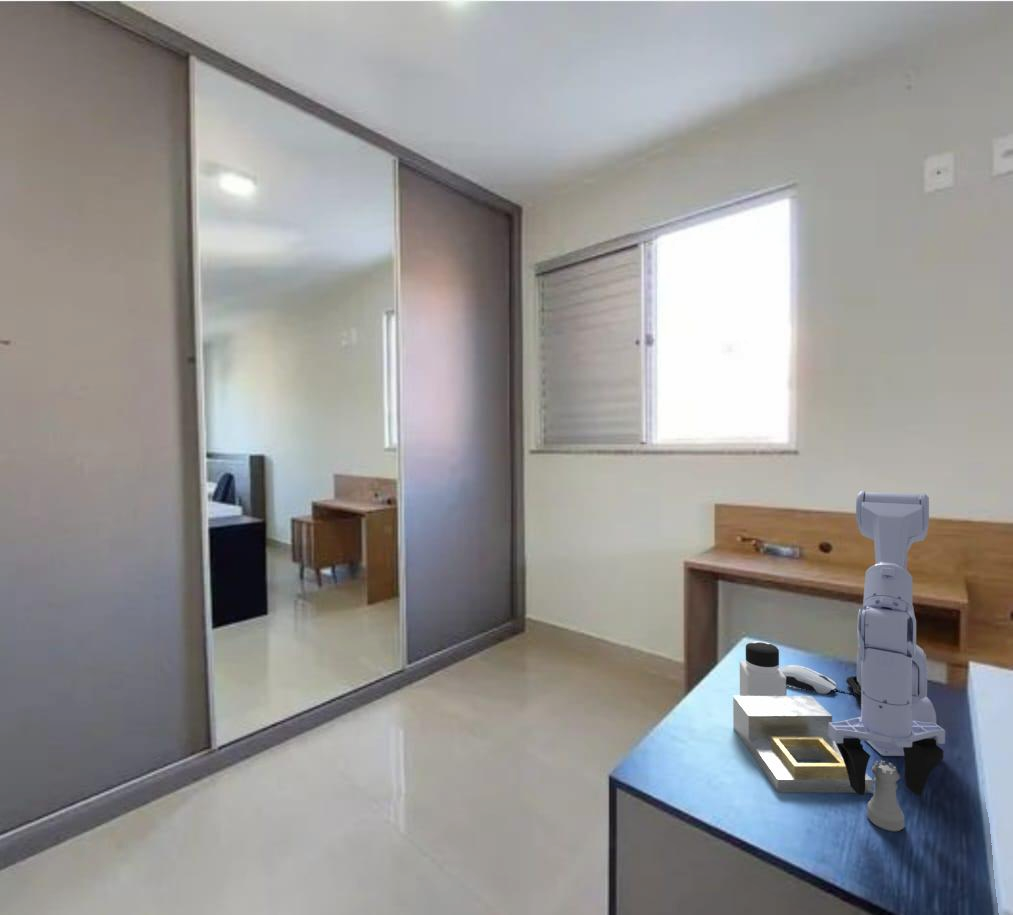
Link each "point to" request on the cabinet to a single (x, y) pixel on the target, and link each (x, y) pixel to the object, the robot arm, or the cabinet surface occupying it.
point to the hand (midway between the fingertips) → (885, 790)
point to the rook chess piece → (885, 799)
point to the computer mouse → (816, 680)
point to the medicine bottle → (761, 671)
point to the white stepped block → (792, 743)
